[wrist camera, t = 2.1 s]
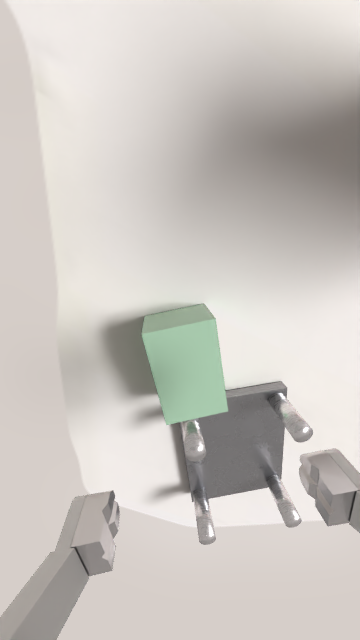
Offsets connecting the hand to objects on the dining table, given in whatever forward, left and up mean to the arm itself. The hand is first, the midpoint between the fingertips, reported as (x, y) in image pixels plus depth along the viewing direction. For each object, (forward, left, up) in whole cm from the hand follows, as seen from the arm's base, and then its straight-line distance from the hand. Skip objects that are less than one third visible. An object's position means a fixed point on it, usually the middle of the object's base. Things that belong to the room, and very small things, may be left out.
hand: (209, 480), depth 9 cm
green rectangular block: (-1, 0, -11) cm, 11 cm away
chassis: (+11, +4, -11) cm, 16 cm away
